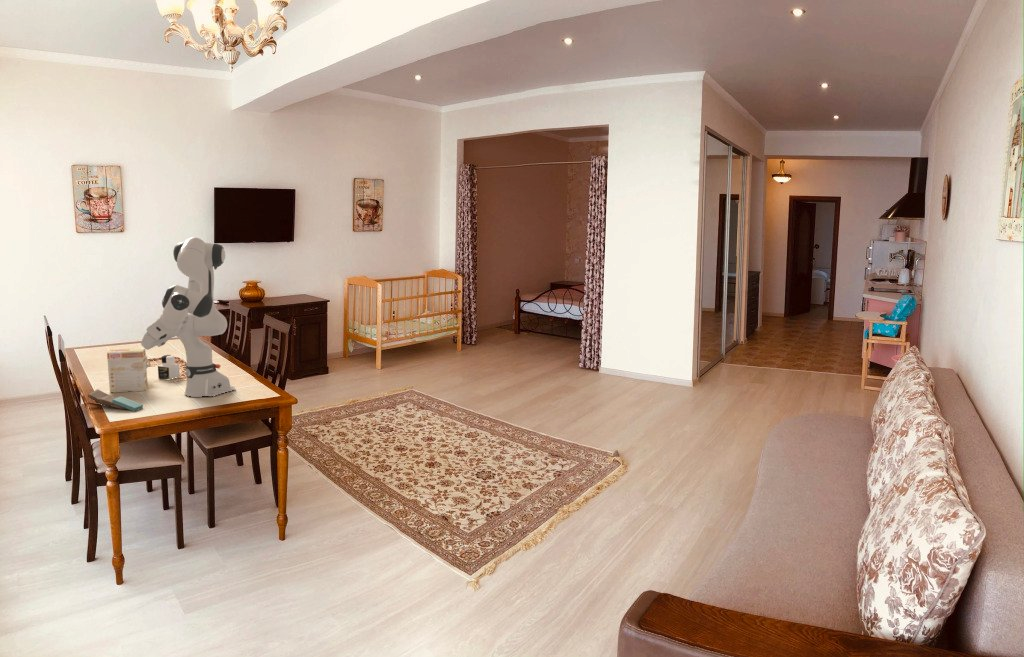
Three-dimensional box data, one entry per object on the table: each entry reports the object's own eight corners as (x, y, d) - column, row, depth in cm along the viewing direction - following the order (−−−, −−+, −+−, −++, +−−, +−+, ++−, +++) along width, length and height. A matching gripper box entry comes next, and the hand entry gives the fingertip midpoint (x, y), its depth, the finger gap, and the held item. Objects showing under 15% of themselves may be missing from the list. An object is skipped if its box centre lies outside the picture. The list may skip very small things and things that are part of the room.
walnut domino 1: (118, 399, 296) (97, 389, 298) (108, 404, 292) (88, 393, 293) (117, 402, 297) (97, 392, 298) (108, 407, 292) (87, 396, 294)
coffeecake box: (148, 387, 326) (145, 348, 323) (145, 391, 320) (142, 351, 316) (113, 389, 322) (110, 349, 318) (109, 393, 315) (106, 352, 312)
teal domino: (143, 404, 293) (121, 396, 294) (134, 408, 288) (112, 399, 289) (142, 408, 293) (120, 399, 294) (134, 411, 288) (112, 402, 289)
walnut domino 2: (131, 402, 294) (107, 395, 294) (124, 406, 289) (100, 398, 289) (130, 406, 295) (107, 398, 295) (123, 409, 290) (99, 402, 290)
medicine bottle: (158, 379, 343) (156, 356, 341) (169, 376, 349) (168, 353, 347) (169, 380, 341) (167, 357, 339) (180, 377, 347) (178, 354, 345)
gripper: (184, 310, 286) (174, 329, 294) (143, 329, 270) (134, 349, 277) (194, 320, 286) (185, 339, 294) (154, 340, 269) (145, 359, 277)
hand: (160, 344), depth 286 cm, fingers closed
